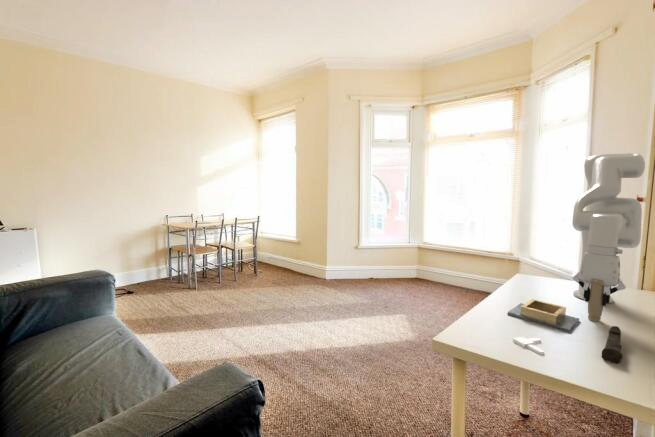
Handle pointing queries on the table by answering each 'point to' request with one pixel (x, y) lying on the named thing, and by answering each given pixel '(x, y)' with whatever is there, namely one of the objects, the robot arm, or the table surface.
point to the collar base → (545, 315)
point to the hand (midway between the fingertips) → (595, 302)
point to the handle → (596, 300)
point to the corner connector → (529, 343)
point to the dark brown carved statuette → (613, 346)
